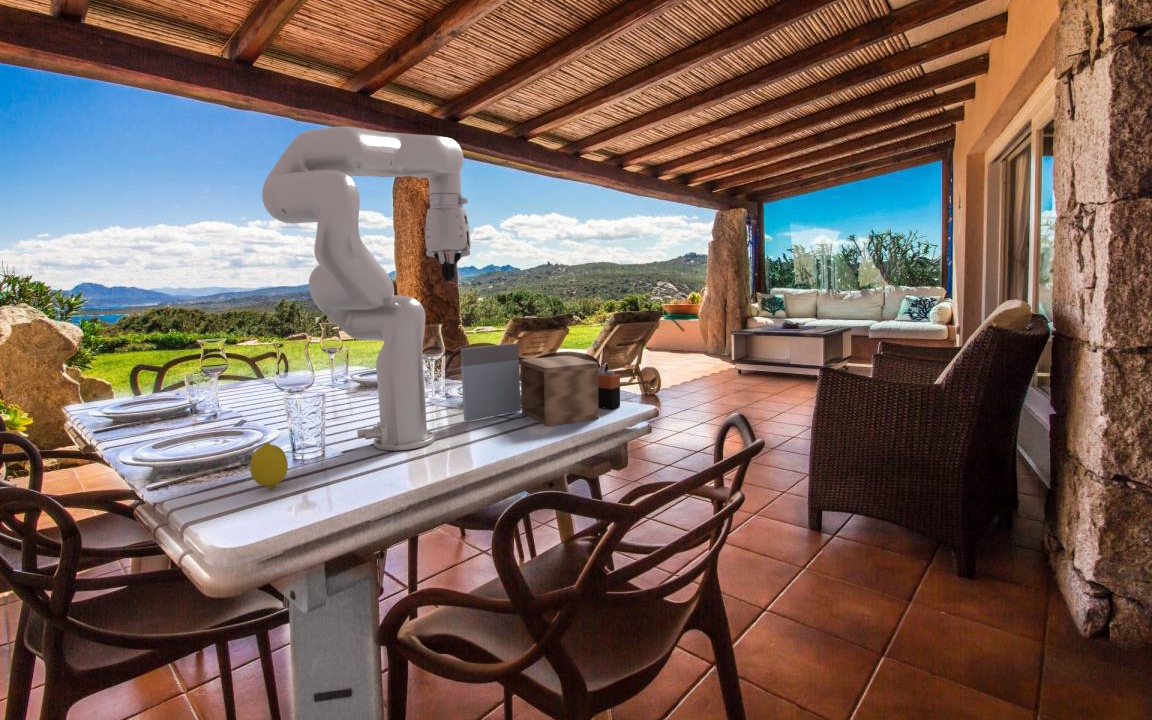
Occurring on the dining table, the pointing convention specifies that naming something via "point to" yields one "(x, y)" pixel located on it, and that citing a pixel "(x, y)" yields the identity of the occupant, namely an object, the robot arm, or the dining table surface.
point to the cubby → (559, 389)
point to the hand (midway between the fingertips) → (449, 280)
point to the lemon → (268, 465)
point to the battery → (608, 390)
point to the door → (490, 381)
